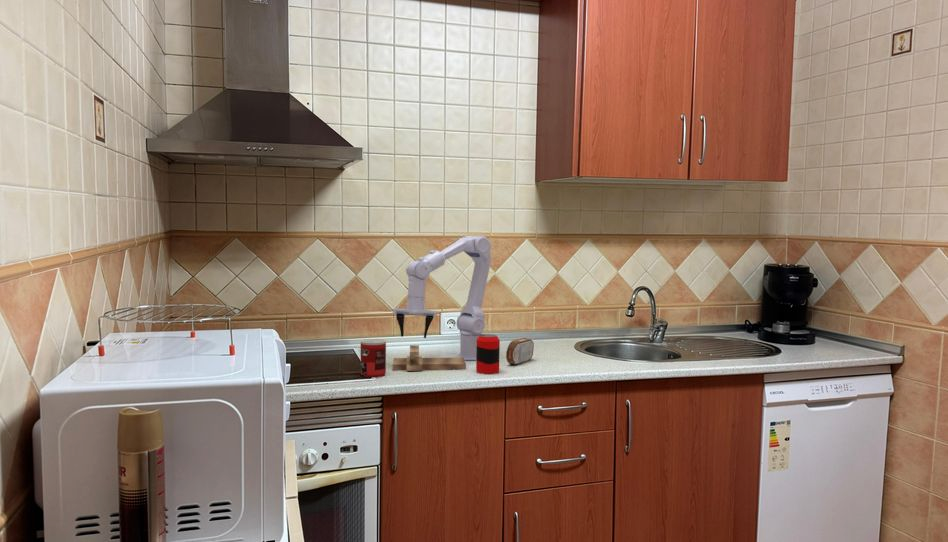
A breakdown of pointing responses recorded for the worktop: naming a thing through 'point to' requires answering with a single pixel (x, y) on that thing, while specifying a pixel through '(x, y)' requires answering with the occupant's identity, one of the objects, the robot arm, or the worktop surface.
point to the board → (432, 363)
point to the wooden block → (414, 359)
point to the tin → (519, 351)
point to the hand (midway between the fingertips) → (413, 336)
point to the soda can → (487, 354)
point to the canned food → (373, 357)
